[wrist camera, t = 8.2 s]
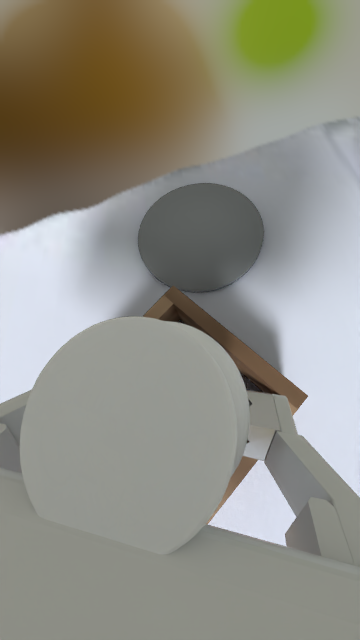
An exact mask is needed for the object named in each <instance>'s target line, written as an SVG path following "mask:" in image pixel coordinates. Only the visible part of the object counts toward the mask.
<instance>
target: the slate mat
mask: <svg viewBox="0 0 360 640" xmlns="http://www.w3.org/2000/svg"><path fill="white" fill-rule="evenodd" d="M263 236H264V229H263V223H262V219H261V216H260V214H259V212H258V210H257V209H256V207H255V206H254V204H253V203H252V202H251V201H250V200H249V199H248V198H247V197H246V196H244V195H243V194H241V193H240V192H238V191H236V190H234V189H232V188H229V187H226V186H223V185H218V184H211V183H200V184H192V185H187V186H184V187H180V188H178V189H175V190H173V191H171V192H169V193H167V194H166V195H164V196H163V197H161V198H160V199H159V200H158V201H157V202H155V203H154V204H153V206H152V207H151V208H150V209H149V210H148V212H147V213H146V215H145V216H144V218H143V220H142V223H141V225H140V229H139V235H138V246H139V251H140V254H141V257H142V259H143V261H144V263H145V265H146V267H147V268H148V270H149V271H150V272H151V273H152V274H153V275H154V276H155V277H156V278H157V279H158V280H160V281H161V282H162V283H164V284H166V285H168V286H170V287H172V286H175V287H176V288H177V289H178V290H182V291H188V292H206V291H212V290H216V289H220V288H222V287H225V286H227V285H229V284H231V283H233V282H235V281H236V280H238V279H239V278H240V277H242V276H243V275H244V274H245V273H246V272H247V271H248V270H249V269H250V268H251V266H252V265H253V264H254V262H255V260H256V259H257V257H258V254H259V252H260V249H261V247H262V243H263Z"/></svg>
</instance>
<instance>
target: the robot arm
mask: <svg viewBox="0 0 360 640" xmlns="http://www.w3.org/2000/svg"><path fill="white" fill-rule="evenodd" d="M246 391H247V395H248V400H249V409H250V425H249V434H248V439H247V444H246V447H245V450H244V454H243V456H246V457H250V458H254V459H258V460H262V461H265V462H264V463H265V464H266V466H267V468H268V469H269V471H270V473H271V475H272V476H273V478H274V480H275V481H276V483H277V485H278V486H279V488H280V490H281V492H282V493H283V495H284V497H285V498H286V500H287V502H288V504H289V505H290V507H291V509H292V510H293V512H294V514H295V515H296V517H297V518H296V519H295V521H294V522H293V523H292V525H291V526H290V528H289V529H288V531H287V532H286V533H285V538H286V545H287V547H286V546H283V545H279V544H275V543H272V542H268V541H265V540H261V539H257V538H254V537H250V536H247V535H243V534H239V533H236V532H232V531H229V530H225V529H221V528H218V527H214V526H211V525H207V524H205V526H204V527H203V528H202V529H201V530H200V531H199V532H198V533H197V534H196V535H195V536H194V537H193V538H192V539H191V540H189V541H188V542H187V543H186V544H184V545H183V546H181V547H180V548H178V549H177V550H175V551H174V552H172V553H170V554H165V555H161V554H156V553H153V552H150V551H147V550H143V549H140V548H137V547H134V546H131V545H127V544H124V543H121V542H118V541H114V540H111V539H108V538H105V537H102V536H99V535H95V534H92V533H89V532H85V531H82V530H79V529H75V528H72V527H69V526H65V525H62V524H59V523H56V522H52V521H49V520H46V519H44V518H42V517H40V516H38V514H37V513H36V511H35V509H34V507H33V505H32V503H31V501H30V499H29V496H28V493H27V491H26V487H25V484H24V480H23V476H22V470H21V465H20V431H21V425H22V420H23V415H24V411H25V408H26V405H27V401H28V398H29V396H30V393H31V390H30V391H28V392H26V393H23V394H21V395H19V396H17V397H14V398H12V399H10V400H8V401H6V402H3V403H1V404H0V640H360V498H359V497H358V495H357V494H356V493H355V492H354V491H353V490H352V489H351V488H350V487H349V486H348V485H347V484H346V482H345V481H344V480H343V479H342V478H341V477H340V476H339V475H338V474H337V473H336V472H335V471H334V469H333V468H332V467H331V466H330V465H329V464H328V463H327V462H326V461H325V460H324V459H323V458H322V456H321V455H320V454H319V453H318V452H317V451H316V450H315V449H314V448H313V447H312V446H311V445H310V444H309V442H308V441H307V440H306V439H305V438H304V437H303V436H301V435H298V433H297V430H296V426H295V423H294V420H293V416H292V413H291V409H290V406H289V403H288V399H287V397H286V396H282V395H276V394H269V393H263V392H257V391H250V390H246Z"/></svg>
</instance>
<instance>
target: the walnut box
mask: <svg viewBox="0 0 360 640" xmlns="http://www.w3.org/2000/svg"><path fill="white" fill-rule="evenodd" d="M143 317H148V318H155V319H159V320H162V321H171V322H179V320H181V321H182V322H184V323H185V324H186V325H189V326H192V327H194V328H196V329H198V330H200V331H202V332H204V333H205V334H207V335H208V336H210V337H211V338H213V339H214V340H215V341H216V342H217V343H219V344H220V345H221V346H222V347H223V348H224V350H225V351H226V352H227V353H228V354H229V356H230V357H231V358H232V360H233V361H234V363H235V365H236V366H237V368H238V370H239V371H240V372H241V373H242V374H243V375H244V376H246V377H247V378H248V379H249V380H250V381H251V382H252V383H254V384H255V385H256V386H257V387H258V388H259V389H260V390H262V391H263V392H264V393H269V394H276V395H282V396H286V397H287V399H288V403H289V406H290V409H291V413H292V416H293V415H294V413H295V412H296V411H297V410H298V408H299V407H300V406H301V405H302V403H303V402H304V401H305V399H306V398H307V397H308V395H306V394H305V393H304V392H303V391H302V390H300V389H299V388H298V387H297V386H295V385H294V384H293V383H292V382H291V381H289V380H288V379H287V378H286V377H284V376H283V375H282V374H281V373H280V372H278V371H277V370H276V369H275V368H273V367H272V366H271V365H270V364H269V363H267V362H266V361H265V360H264V359H262V358H261V357H260V356H259V355H258V354H256V353H255V352H254V351H253V350H252V349H250V348H249V347H248V346H247V345H245V344H244V343H243V342H242V341H241V340H239V339H238V338H237V337H236V336H234V335H233V334H232V333H231V332H230V331H228V330H227V329H226V328H225V327H223V326H222V325H221V324H220V323H219V322H217V321H216V320H215V319H214V318H212V317H211V316H210V315H209V314H208V313H206V312H205V311H204V310H203V309H201V308H200V307H199V306H198V305H197V304H195V303H194V302H193V301H192V300H191V299H189V298H188V297H187V296H186V295H184V294H183V293H182V292H181V291H180V290H178V289H177V288H176V287H175V286H172V287H171V288H170V289H169V290H168V291H167V292H166V293H165V294H164V295H163V296H162V297H161V298H160V299H159V300H158V301H157V302H156V303H155V304H154V305H153V306H152V307H151V308H150V309H149V310H148V311H147V312H146V314H145V315H144V316H143ZM257 461H258V459H254V458H250V457H246V456H242V458H241V461H240V463H239V465H238V467H237V468H236V470H235V472H234V473H233V475H232V476H231V478H230V480H229V483H228V486H227V488H226V491H225V493H224V496H223V498H222V500H221V502H220V504H219V505H218V507H217V509H216V510H215V512H214V513H213V515H212V516H211V518H210V519H209V520H208V522H207V523H206V524H208V523H209V522H210V521H211V519H212V518H213V517H214V515H215V514H216V513H217V512H218V510H219V509H220V508H221V507H222V505H223V504H224V503H225V501H226V500H227V499H228V498H229V496H230V495H231V494H232V493H233V491H234V490H235V489H236V487H237V486H238V485H239V484H240V482H241V481H242V480H243V479H244V477H245V476H246V475H247V473H248V472H249V471H250V470H251V468H252V467H253V466H254V464H255V463H256V462H257Z"/></svg>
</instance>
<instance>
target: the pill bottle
mask: <svg viewBox="0 0 360 640" xmlns="http://www.w3.org/2000/svg"><path fill="white" fill-rule="evenodd" d="M249 425H250V409H249V400H248V395H247V391H246V387H245V384H244V381H243V379H242V376H241V374H240V372H239V370H238V368H237V366H236V365H235V363H234V361H233V360H232V358H231V357H230V356H229V354H228V353H227V352H226V351H225V350H224V348H223V347H222V346H221V345H220V344H219V343H217V342H216V341H215V340H214V339H213V338H211V337H210V336H208V335H207V334H205V333H204V332H202V331H200V330H198V329H196V328H194V327H192V326H189V325H186V324H183V323H178V322H171V321H162V320H159V319H155V318H148V317H138V316H129V317H119V318H114V319H110V320H107V321H104V322H100V323H98V324H95V325H93V326H91V327H89V328H87V329H85V330H84V331H82V332H80V333H79V334H77V335H76V336H74V337H73V338H71V339H70V340H69V341H68V342H67V343H66V344H65V345H63V346H62V347H61V348H60V349H59V350H58V351H57V352H56V353H55V354H54V356H53V357H52V358H51V359H50V360H49V362H48V363H47V364H46V366H45V367H44V369H43V370H42V372H41V373H40V375H39V377H38V378H37V380H36V382H35V385H34V387H33V388H32V390H31V393H30V396H29V398H28V401H27V405H26V408H25V411H24V415H23V420H22V425H21V431H20V465H21V470H22V476H23V480H24V484H25V487H26V491H27V493H28V496H29V499H30V501H31V503H32V505H33V507H34V509H35V511H36V513H37V514H38V516H40V517H42V518H44V519H46V520H49V521H52V522H56V523H59V524H62V525H65V526H69V527H72V528H75V529H79V530H82V531H85V532H89V533H92V534H95V535H99V536H102V537H105V538H108V539H111V540H114V541H118V542H121V543H124V544H127V545H131V546H134V547H137V548H140V549H143V550H147V551H150V552H153V553H156V554H161V555H165V554H170V553H172V552H174V551H175V550H177V549H178V548H180V547H181V546H183V545H184V544H186V543H187V542H188V541H189V540H191V539H192V538H193V537H194V536H195V535H196V534H197V533H198V532H199V531H200V530H201V529H202V528H203V527H204V526H205V524H206V523H207V522H208V520H209V519H210V518H211V516H212V515H213V513H214V512H215V510H216V509H217V507H218V505H219V504H220V502H221V500H222V498H223V496H224V493H225V491H226V488H227V486H228V483H229V480H230V478H231V476H232V475H233V473H234V472H235V470H236V468H237V467H238V465H239V463H240V461H241V458H242V456H243V454H244V450H245V447H246V444H247V439H248V434H249Z"/></svg>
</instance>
